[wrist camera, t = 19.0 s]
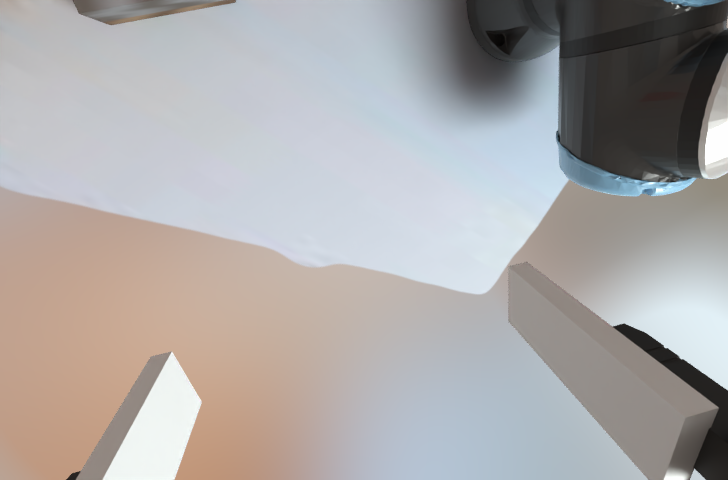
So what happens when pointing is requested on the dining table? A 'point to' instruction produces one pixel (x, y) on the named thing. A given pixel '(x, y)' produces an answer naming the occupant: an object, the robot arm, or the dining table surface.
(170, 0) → the bottle holder
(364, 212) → the dining table surface
